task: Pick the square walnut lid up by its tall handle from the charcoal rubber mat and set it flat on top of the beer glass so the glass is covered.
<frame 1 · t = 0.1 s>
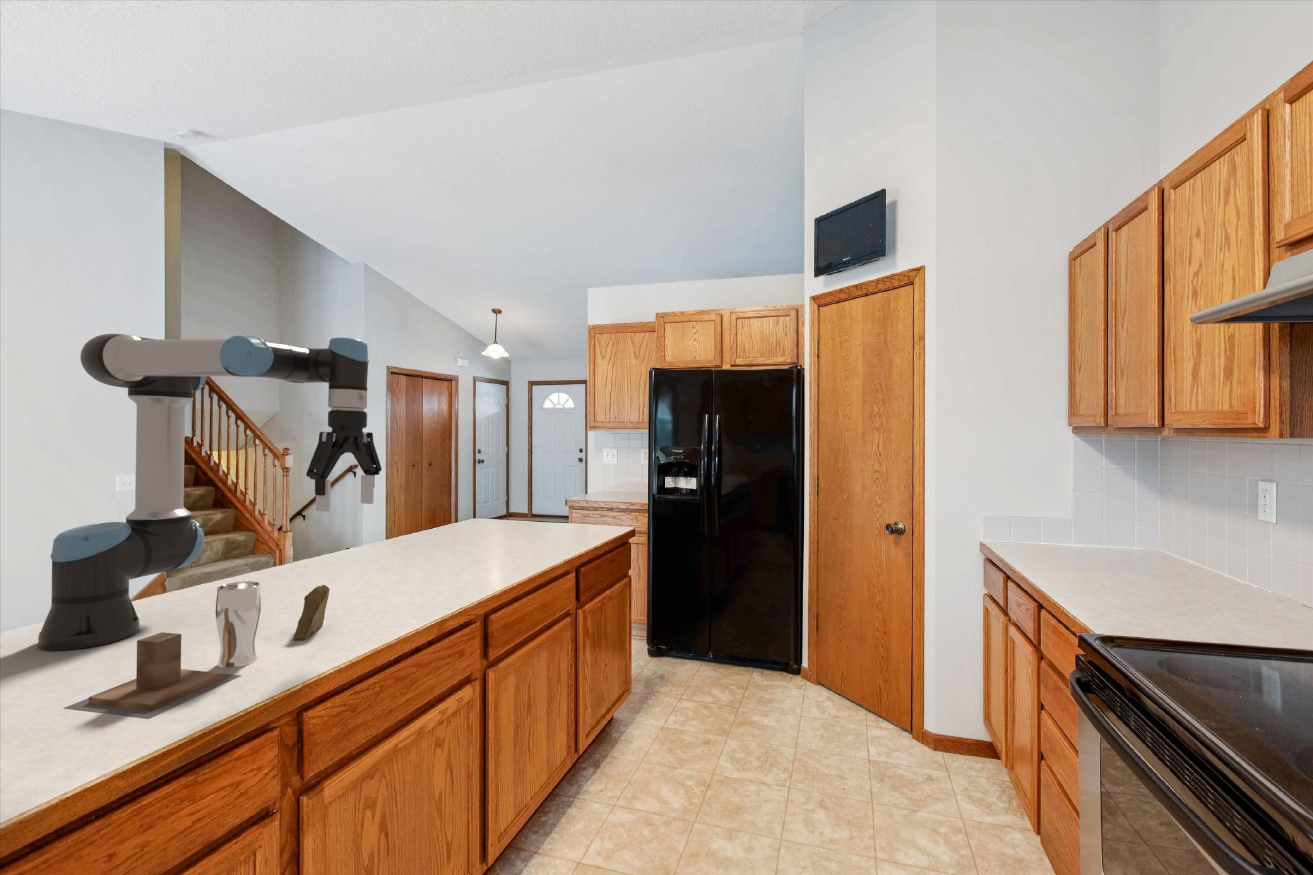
hand: (346, 507, 125), 28 cm above the counter, tool pointing down, fingers open, 13 cm apart
beer glass: (237, 665, 109), on the counter
mat: (158, 693, 96), on the counter
rock: (306, 633, 127), on the counter
lid: (158, 690, 96), resting on mat
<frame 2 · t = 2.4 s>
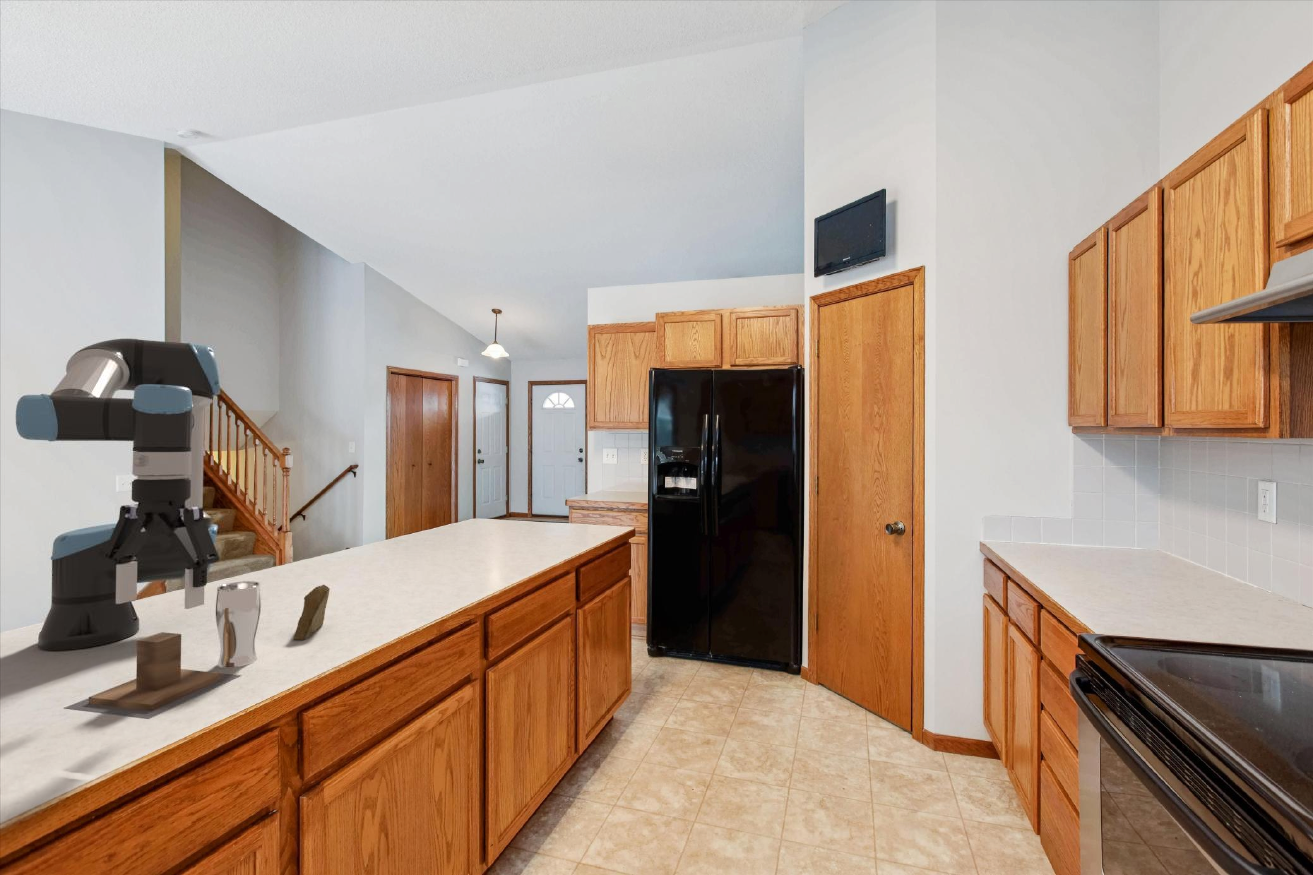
hand: (159, 604, 96), 15 cm above the counter, tool pointing down, fingers open, 13 cm apart
nothing on the counter moved.
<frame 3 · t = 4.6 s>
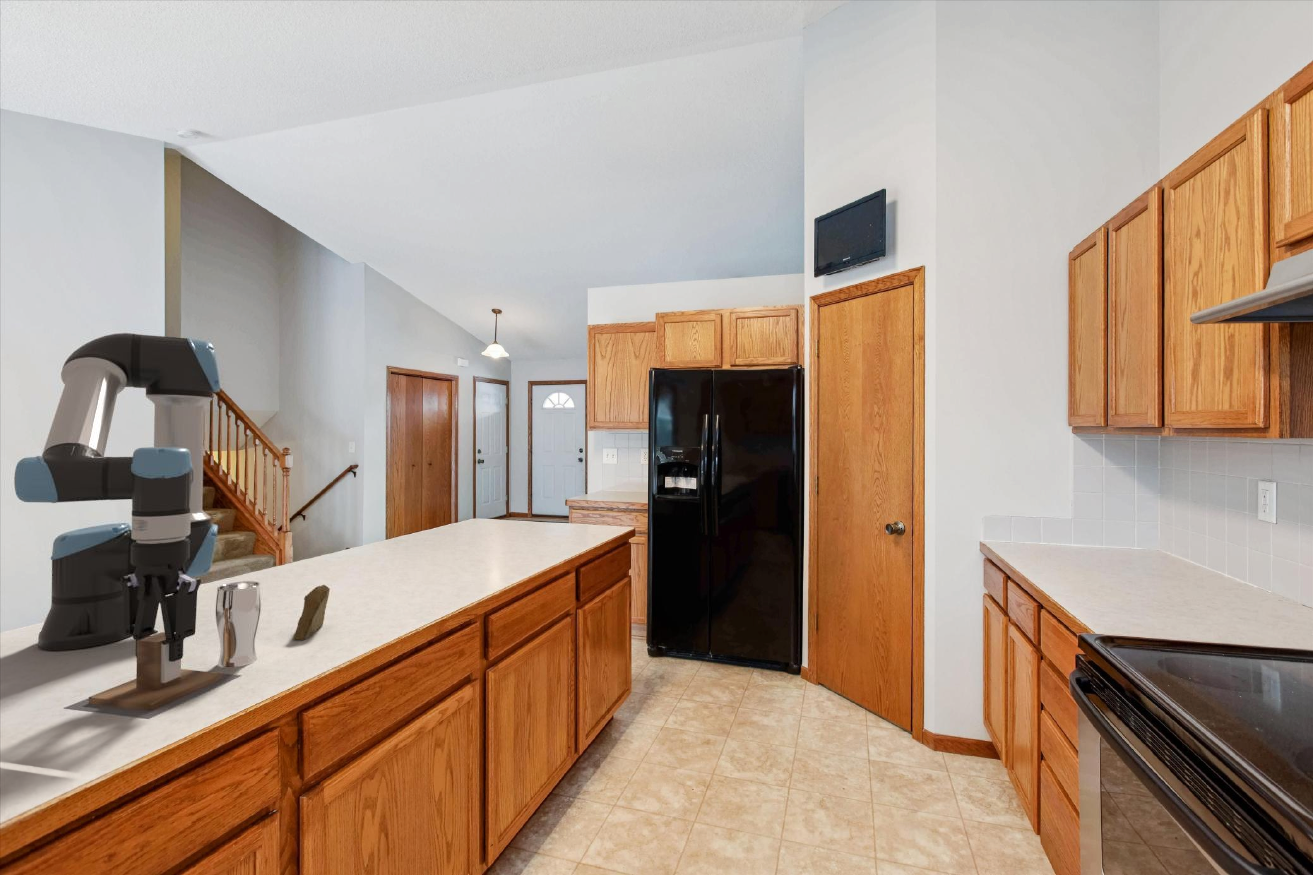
hand: (158, 677, 96), 3 cm above the counter, tool pointing down, fingers closed on lid, 4 cm apart
lid: (158, 690, 96), resting on mat, touching gripper
everything else where it was.
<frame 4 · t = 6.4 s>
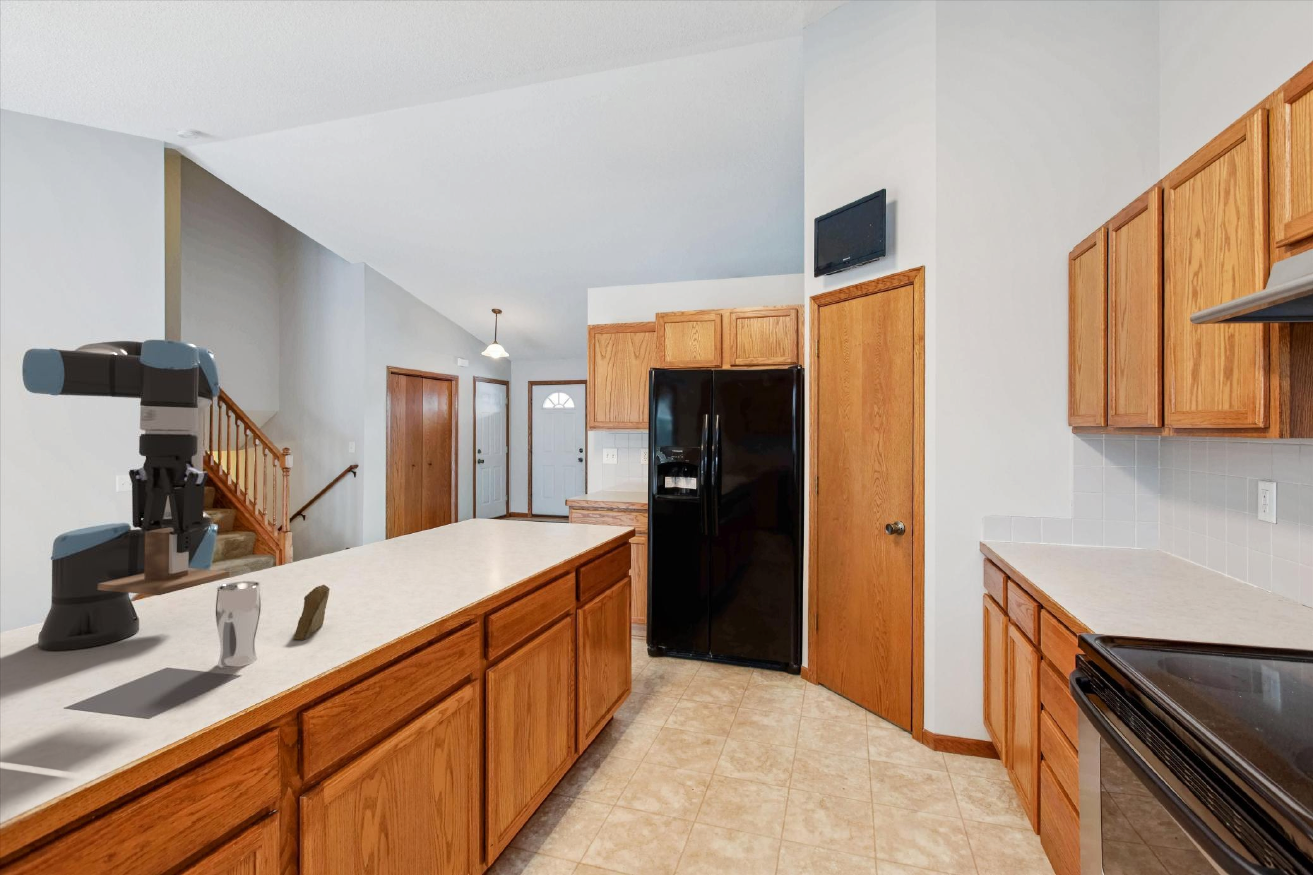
hand: (166, 570, 97), 21 cm above the counter, tool pointing down, fingers closed on lid, 4 cm apart
lid: (166, 583, 97), point 18 cm above the counter, touching gripper
everything else where it was.
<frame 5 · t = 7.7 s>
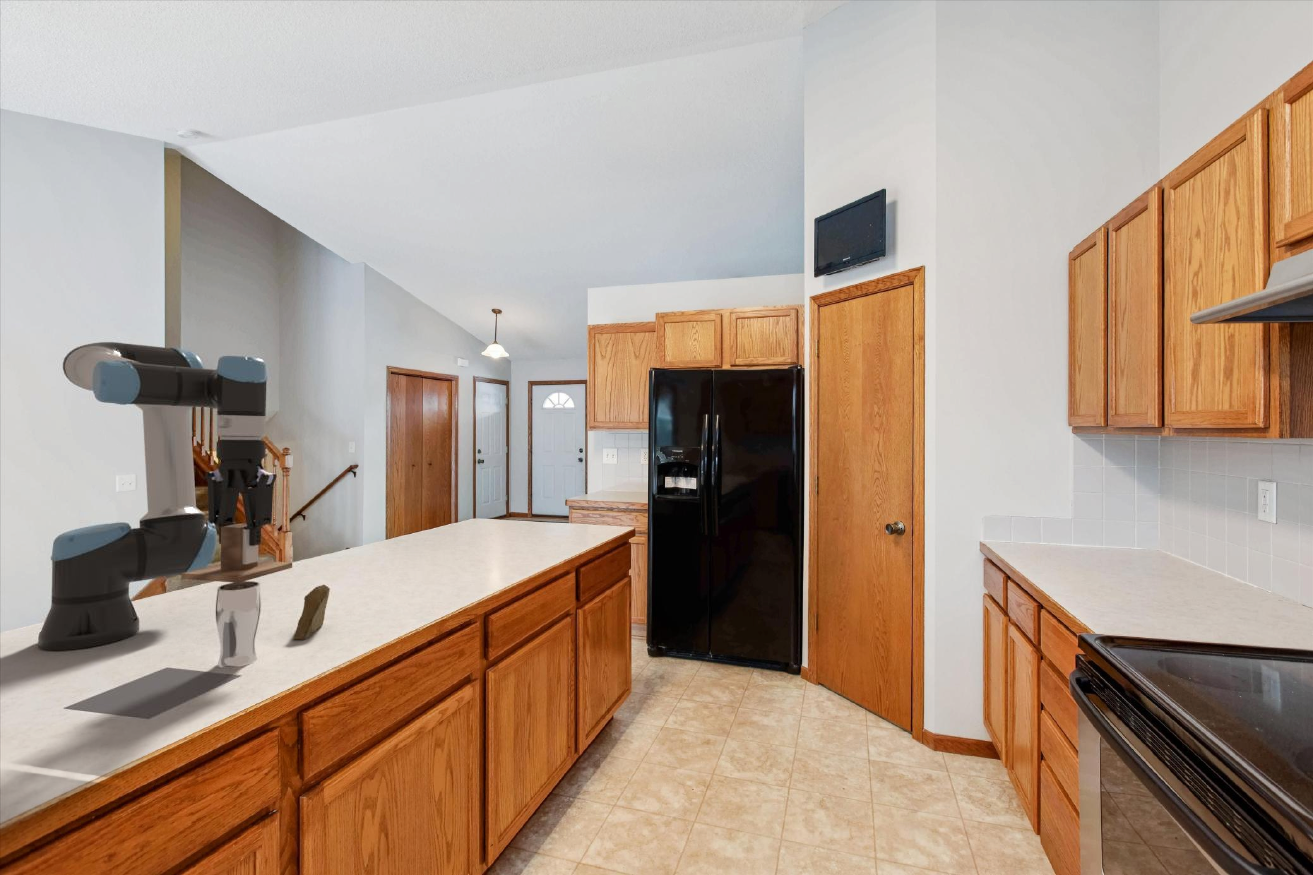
hand: (239, 561, 109), 20 cm above the counter, tool pointing down, fingers closed on lid, 4 cm apart
lid: (239, 573, 109), point 17 cm above the counter, touching gripper
everything else where it was.
when the fingers open (19 cm above the counter, at t = 8.4 s): lid drops 1 cm, resting on beer glass.
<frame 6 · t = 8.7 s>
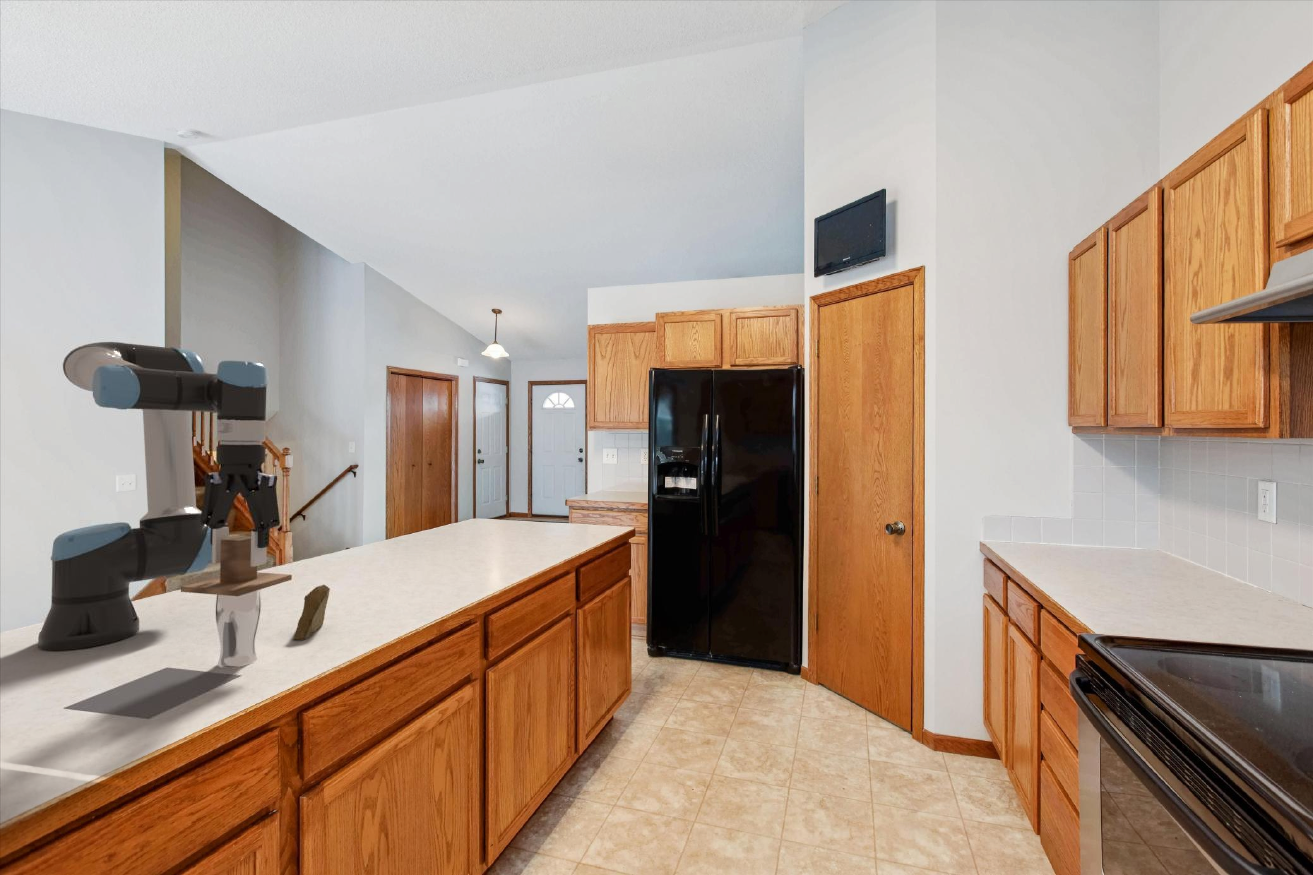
hand: (239, 563, 109), 19 cm above the counter, tool pointing down, fingers open, 8 cm apart
beer glass: (237, 665, 109), on the counter, touching lid
lid: (238, 585, 109), point 15 cm above the counter, touching beer glass
everything else where it was.
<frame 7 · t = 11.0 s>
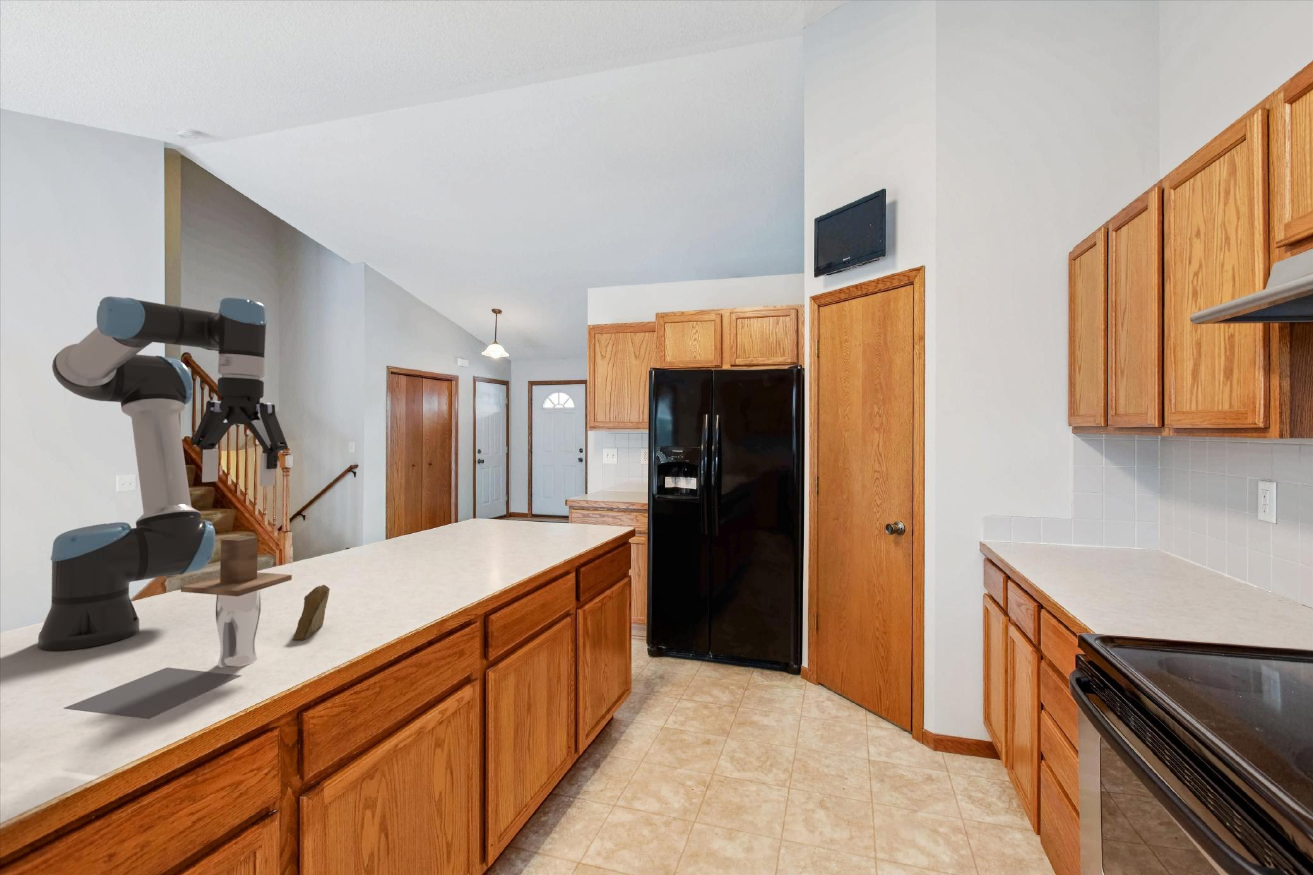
hand: (238, 483, 115), 34 cm above the counter, tool pointing down, fingers open, 13 cm apart
nothing on the counter moved.
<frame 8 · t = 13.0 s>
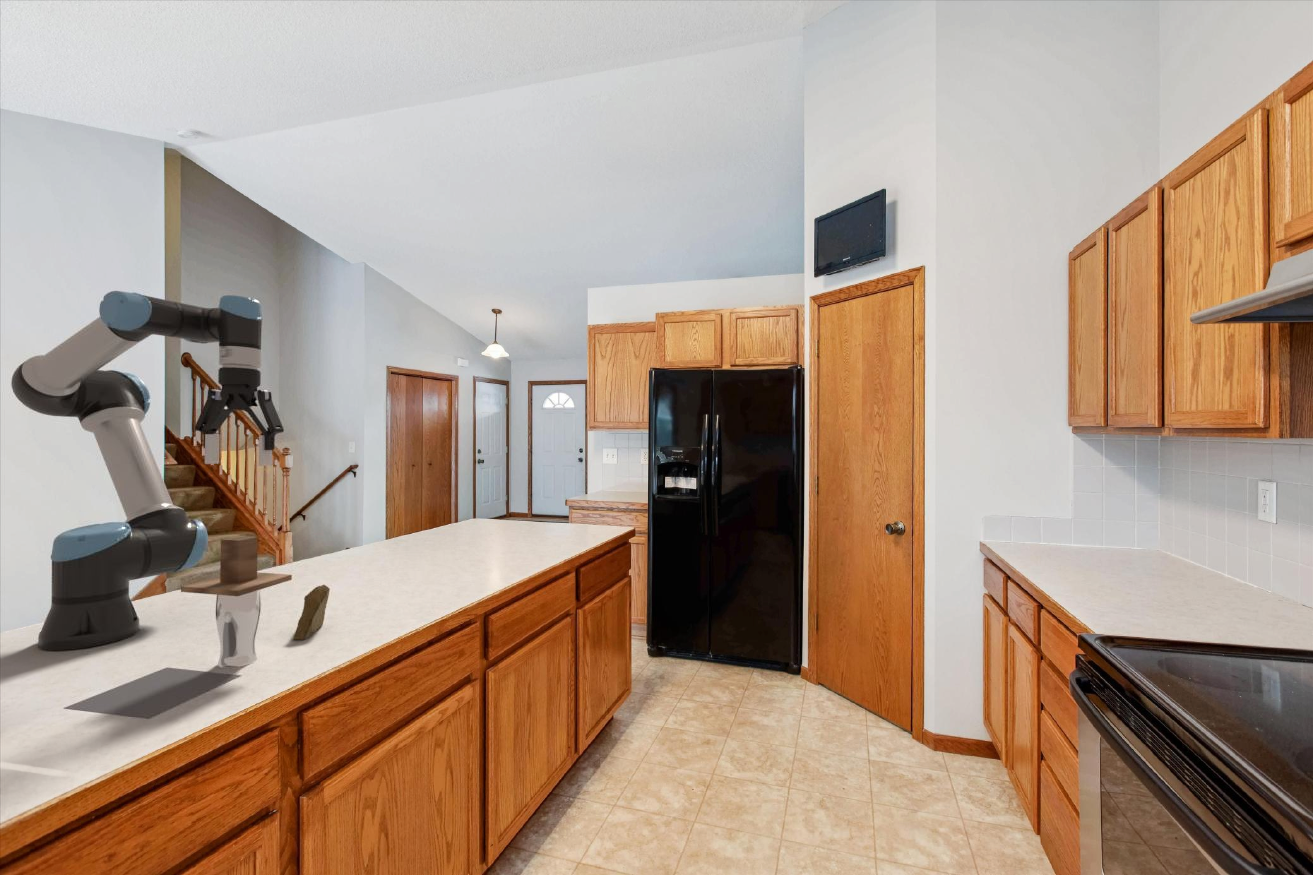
hand: (238, 464, 126), 37 cm above the counter, tool pointing down, fingers open, 13 cm apart
nothing on the counter moved.
at the end: lid 0.0 cm from the beer glass (horizontally); lid point 15.0 cm above the counter; beer glass tilted 0° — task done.
